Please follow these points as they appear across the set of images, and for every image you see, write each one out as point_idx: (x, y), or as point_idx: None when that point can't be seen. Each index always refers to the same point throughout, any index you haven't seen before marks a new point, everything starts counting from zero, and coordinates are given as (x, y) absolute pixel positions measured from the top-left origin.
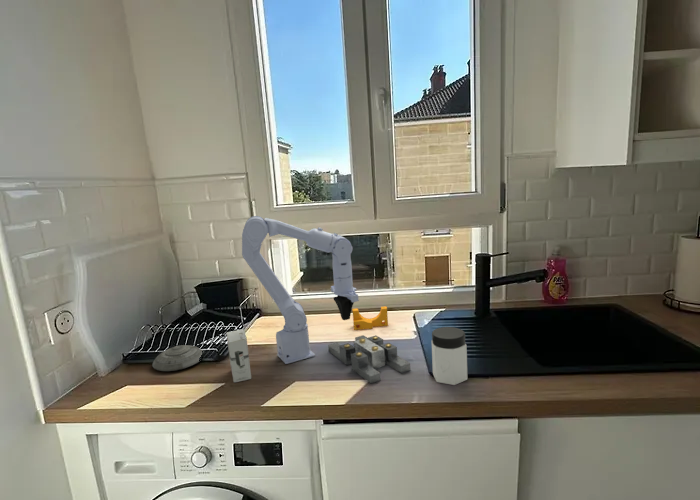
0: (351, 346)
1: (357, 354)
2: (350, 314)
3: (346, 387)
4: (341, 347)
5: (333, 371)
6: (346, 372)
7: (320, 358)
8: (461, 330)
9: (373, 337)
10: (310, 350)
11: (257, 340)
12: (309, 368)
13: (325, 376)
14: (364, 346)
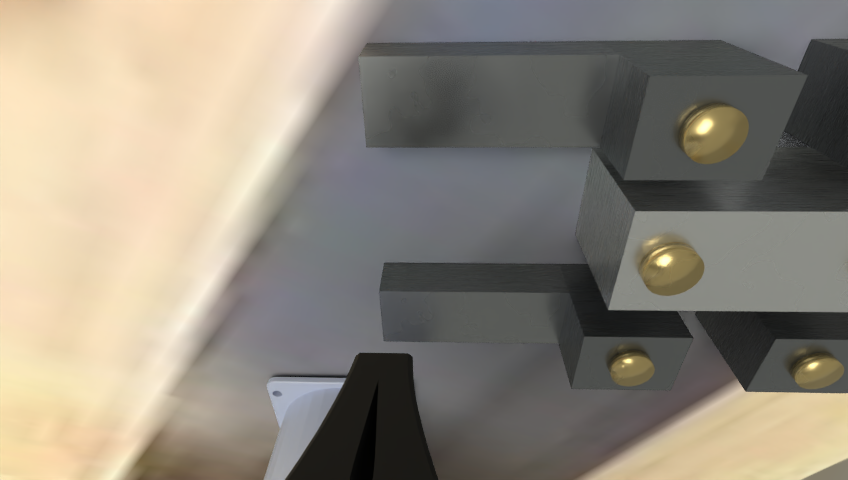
0: (654, 345)
1: (820, 386)
2: (414, 395)
3: (807, 395)
4: (604, 387)
5: None
6: (696, 344)
7: (449, 368)
8: None
9: (704, 154)
10: (342, 384)
11: (72, 473)
12: (516, 427)
13: (641, 413)
14: (765, 298)
